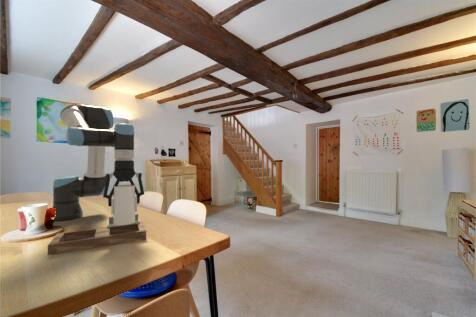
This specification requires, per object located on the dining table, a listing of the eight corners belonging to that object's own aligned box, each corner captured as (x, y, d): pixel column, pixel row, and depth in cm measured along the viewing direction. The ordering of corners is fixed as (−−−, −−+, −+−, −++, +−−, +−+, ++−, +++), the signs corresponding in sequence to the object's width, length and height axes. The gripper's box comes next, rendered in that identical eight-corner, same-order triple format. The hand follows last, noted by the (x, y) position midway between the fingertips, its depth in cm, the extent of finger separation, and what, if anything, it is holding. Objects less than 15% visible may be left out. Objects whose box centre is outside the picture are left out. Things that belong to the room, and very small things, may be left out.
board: (64, 232, 100) (64, 224, 100) (140, 222, 115) (140, 215, 115) (47, 255, 76) (47, 245, 76) (146, 239, 92) (146, 230, 92)
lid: (108, 220, 106) (108, 212, 106) (137, 216, 113) (137, 209, 113) (107, 227, 95) (107, 218, 95) (139, 223, 101) (139, 215, 101)
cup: (138, 220, 98) (138, 184, 98) (127, 225, 89) (127, 186, 89) (121, 219, 98) (121, 184, 98) (109, 225, 90) (109, 186, 90)
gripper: (94, 160, 86) (94, 217, 86) (151, 159, 96) (151, 211, 96) (96, 159, 92) (96, 213, 92) (149, 159, 102) (149, 208, 102)
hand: (124, 212), depth 94 cm, fingers closed on cup, 8 cm apart
